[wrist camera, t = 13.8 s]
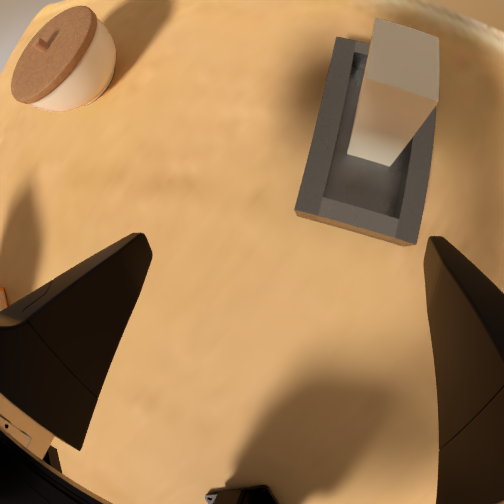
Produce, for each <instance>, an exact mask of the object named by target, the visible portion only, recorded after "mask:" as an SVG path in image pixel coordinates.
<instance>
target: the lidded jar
mask: <svg viewBox="0 0 504 504" xmlns="http://www.w3.org/2000/svg"><path fill="white" fill-rule="evenodd" d="M115 62H116V48H115V44H114V41H113V38H112V36H111V34H110V32H109V31H108V29H107V28H106V27H105V25H104V24H103V23H102V22H101V21H100V20H99V19H98V18H97V17H96V15H95V13H94V12H93V11H92V10H91V9H90V8H88V7H86V6H76V7H72V8H70V9H67V10H65V11H63V12H62V13H60V14H58V15H57V16H55V17H54V18H53V19H51V20H50V21H49V22H48V23H47V24H46V25H45V26H43V27H42V28H41V29H40V30H39V32H38V33H37V34H36V35H35V36H34V37H33V38H32V40H31V41H30V42H29V44H28V45H27V47H26V48H25V50H24V51H23V53H22V55H21V57H20V58H19V60H18V62H17V65H16V67H15V70H14V73H13V77H12V82H11V91H12V95H13V97H14V98H15V99H16V100H17V101H19V102H22V103H25V104H29V105H31V106H33V107H35V108H38V109H41V110H45V111H48V112H68V111H73V110H75V109H78V108H80V107H82V106H86V105H88V104H90V103H92V102H94V101H95V100H96V99H98V98H99V97H100V96H101V95H102V94H103V93H104V92H105V90H106V89H107V88H108V86H109V84H110V83H111V80H112V78H113V75H114V66H115Z"/></svg>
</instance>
